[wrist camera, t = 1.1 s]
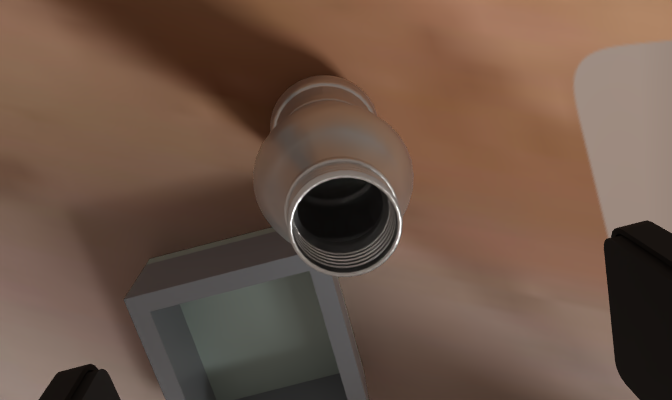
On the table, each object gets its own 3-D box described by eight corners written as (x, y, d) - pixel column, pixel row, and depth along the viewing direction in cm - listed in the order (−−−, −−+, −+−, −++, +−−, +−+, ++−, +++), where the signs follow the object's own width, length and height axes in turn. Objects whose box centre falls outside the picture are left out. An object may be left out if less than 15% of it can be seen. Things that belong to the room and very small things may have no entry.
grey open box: (364, 372, 43) (374, 426, 37) (209, 411, 43) (195, 471, 37) (320, 214, 39) (323, 247, 33) (149, 258, 39) (123, 299, 33)
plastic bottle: (366, 173, 38) (432, 325, 19) (267, 162, 37) (232, 308, 18) (380, 78, 36) (469, 139, 17) (276, 65, 35) (247, 113, 16)
